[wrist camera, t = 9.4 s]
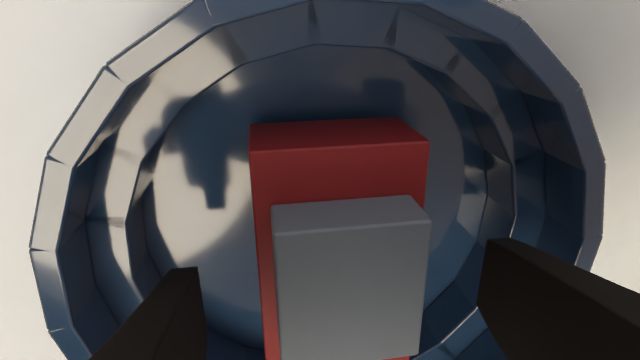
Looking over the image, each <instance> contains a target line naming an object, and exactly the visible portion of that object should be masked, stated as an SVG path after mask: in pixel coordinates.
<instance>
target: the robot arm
mask: <svg viewBox="0 0 640 360" xmlns="http://www.w3.org/2000/svg"><path fill="white" fill-rule="evenodd" d="M476 305H477V307H478V309H479V311H480V313H481V315H482V317H483V319H484V321H485V323H486V325H487V327H488V329H489V331H490V332H491V334H492V336H493V338H494V340H495V341H496V343H497V344H498V346H499V347H500V349H501V350H502V351H503V353H504V354H505V356H506V357H507V359H508V360H640V294H639V293H637V292H635V291H632V290H630V289H627V288H625V287H622V286H620V285H618V284H615V283H613V282H611V281H609V280H606V279H604V278H602V277H599V276H597V275H595V274H593V273H590V272H588V271H586V270H584V269H582V268H579V267H577V266H575V265H573V264H571V263H568V262H566V261H564V260H562V259H560V258H557V257H555V256H553V255H551V254H549V253H546V252H544V251H542V250H540V249H537V248H535V247H533V246H531V245H528V244H526V243H523V242H521V241H518V240H515V239H512V238H509V237H507V238H497V239H487V241H486V247H485V253H484V259H483V265H482V271H481V277H480V283H479V289H478V295H477V301H476ZM207 341H208V332H207V326H206V319H205V312H204V306H203V299H202V292H201V286H200V279H199V272H198V266H196V267H185V268H174V269H170V270H169V271H168V272H167V273H166V274H165V276H164V277H163V278H162V279H161V280H160V281H159V283H158V284H157V285H156V286H155V287H154V288H153V290H152V291H151V292H150V293H149V294H148V296H147V297H146V298H145V299H144V300H143V301H142V303H141V304H140V305H139V306H138V307H137V308H136V310H135V311H134V312H133V313H132V314H131V315H130V316H129V317H128V318H127V320H126V321H125V322H124V323H123V324H122V325H121V326H120V327H119V328H118V330H117V331H116V332H115V333H114V334H113V335H112V336H111V337H110V338H109V339H108V340H107V341H106V342H105V343H104V344H103V345H102V346H101V347H100V348H99V349H98V350H97V351H96V352H95V353H94V354H93V355H92V357H91V358H90V359H89V360H206V356H207Z"/></svg>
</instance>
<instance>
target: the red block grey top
mask: <svg viewBox="0 0 640 360" xmlns="http://www.w3.org/2000/svg"><path fill="white" fill-rule="evenodd" d="M429 150H430V141H429V140H428V139H426V138H425V137H424V136H422V135H421V134H420V133H418V132H417V131H416V130H414V129H413V128H412V127H410V126H409V125H408V124H406V123H405V122H404V121H402V120H401V119H400V118H398V117H378V118H358V119H338V120H318V121H298V122H278V123H258V124H250V125H249V143H248V157H249V169H250V181H251V193H252V205H253V217H254V229H255V241H256V253H257V265H258V277H259V289H260V301H261V313H262V325H263V337H264V349H265V360H409V358H410V356H413V355H417V354H418V352H419V342H420V333H421V323H422V314H423V305H424V295H425V286H426V276H427V267H428V258H429V248H430V239H431V230H432V220H431V219H430V217H429V216H428V215H427V214H426V213H425V211H424V202H425V191H426V181H427V171H428V160H429Z"/></svg>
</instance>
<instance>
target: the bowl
mask: <svg viewBox="0 0 640 360" xmlns="http://www.w3.org/2000/svg"><path fill="white" fill-rule="evenodd" d="M378 117H398V118H400V119H401V120H402V121H404V122H405V123H406V124H408V125H409V126H410V127H412V128H413V129H414V130H416V131H417V132H418V133H420V134H421V135H422V136H424V137H425V138H426V139H428V140H429V141H430V150H429V160H428V171H427V181H426V191H425V202H424V211H425V213H426V214H427V215H428V216H429V217H430V219H431V220H432V230H431V239H430V248H429V258H428V267H427V276H426V286H425V295H424V305H423V314H422V323H421V333H420V342H419V352H418V354H417V355H413V356H410V358H409V360H508V359H507V357H506V356H505V354H504V353H503V351H502V350H501V349H500V347H499V346H498V344H497V343H496V341H495V340H494V338H493V336H492V334H491V332H490V331H489V329H488V327H487V325H486V323H485V321H484V319H483V317H482V315H481V313H480V311H479V309H478V307H477V305H476V301H477V295H478V289H479V283H480V277H481V271H482V265H483V259H484V253H485V247H486V241H487V239H497V238H507V237H509V238H512V239H515V240H518V241H521V242H523V243H526V244H528V245H531V246H533V247H535V248H537V249H540V250H542V251H544V252H546V253H549V254H551V255H553V256H555V257H557V258H560V259H562V260H564V261H566V262H568V263H571V264H573V265H575V266H577V267H579V268H582V269H584V270H586V271H588V272H590V270H591V267H592V265H593V262H594V259H595V256H596V254H597V251H598V248H599V246H600V243H601V240H602V234H603V217H604V194H605V170H606V164H605V162H604V161H605V157H604V154H603V151H602V148H601V145H600V142H599V139H598V136H597V133H596V130H595V127H594V124H593V121H592V118H591V115H590V112H589V109H588V106H587V102H586V99H585V96H584V93H583V90H582V88H581V87H580V84H579V83H578V82H577V81H576V80H575V78H574V77H573V76H572V75H571V74H570V73H569V71H568V70H567V69H566V68H565V67H564V66H563V64H562V63H561V62H560V61H559V60H558V59H557V57H556V56H555V55H554V54H553V53H552V52H551V50H550V49H549V48H548V47H547V46H546V45H545V43H544V42H543V41H542V40H541V39H540V38H539V36H538V35H537V34H536V33H535V32H534V31H533V29H532V28H531V27H530V26H529V25H528V24H527V22H526V21H525V20H522V18H521V17H520V16H518V15H516V14H514V13H512V12H510V11H508V10H506V9H504V8H502V7H500V6H498V5H496V4H494V3H492V2H490V1H488V0H193V1H191V2H190V3H188V4H187V5H186V6H184V7H183V8H181V9H180V10H179V11H177V12H176V13H174V14H173V15H172V16H170V17H169V18H167V19H166V20H165V21H163V22H162V23H161V24H159V25H158V26H156V27H155V28H154V29H152V30H151V31H149V32H148V33H147V34H145V35H144V36H142V37H141V38H140V39H138V40H137V41H135V42H134V43H133V44H131V45H130V46H128V47H127V48H126V49H124V50H123V51H122V52H120V53H119V54H117V55H116V56H115V57H113V58H112V59H110V60H109V61H108V62H107V63H106V65H105V66H103V67H102V68H101V70H100V71H99V73H98V74H97V76H96V77H95V79H94V80H93V82H92V84H91V85H90V87H89V88H88V90H87V91H86V93H85V94H84V96H83V97H82V99H81V100H80V102H79V104H78V105H77V107H76V108H75V110H74V111H73V113H72V114H71V116H70V117H69V119H68V120H67V122H66V124H65V125H64V127H63V128H62V130H61V131H60V133H59V134H58V136H57V137H56V139H55V140H54V142H53V144H52V145H51V147H50V148H49V150H48V151H47V156H46V157H45V159H44V165H43V170H42V176H41V182H40V187H39V193H38V198H37V204H36V209H35V215H34V220H33V226H32V231H31V237H30V243H29V248H30V250H29V253H30V258H31V262H32V266H33V270H34V275H35V279H36V283H37V288H38V292H39V296H40V300H41V305H42V309H43V313H44V318H45V322H46V326H47V329H48V332H49V334H50V336H51V337H52V338H53V340H54V341H55V343H56V344H57V346H58V347H59V348H60V350H61V351H62V353H63V354H64V355H65V357H66V358H67V360H89V359H90V358H91V357H92V355H93V354H94V353H95V352H96V351H97V350H98V349H99V348H100V347H101V346H102V345H103V344H104V343H105V342H106V341H107V340H108V339H109V338H110V337H111V336H112V335H113V334H114V333H115V332H116V331H117V330H118V328H119V327H120V326H121V325H122V324H123V323H124V322H125V321H126V320H127V318H128V317H129V316H130V315H131V314H132V313H133V312H134V311H135V310H136V308H137V307H138V306H139V305H140V304H141V303H142V301H143V300H144V299H145V298H146V297H147V296H148V294H149V293H150V292H151V291H152V290H153V288H154V287H155V286H156V285H157V284H158V283H159V281H160V280H161V279H162V278H163V277H164V276H165V274H166V273H167V272H168V271H169V270H170V269H174V268H185V267H196V266H198V272H199V279H200V286H201V292H202V299H203V306H204V312H205V319H206V326H207V332H208V341H207V356H206V360H265V349H264V337H263V325H262V313H261V301H260V289H259V277H258V265H257V253H256V241H255V229H254V217H253V205H252V193H251V181H250V169H249V157H248V143H249V125H250V124H258V123H278V122H298V121H318V120H338V119H358V118H378Z"/></svg>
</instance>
